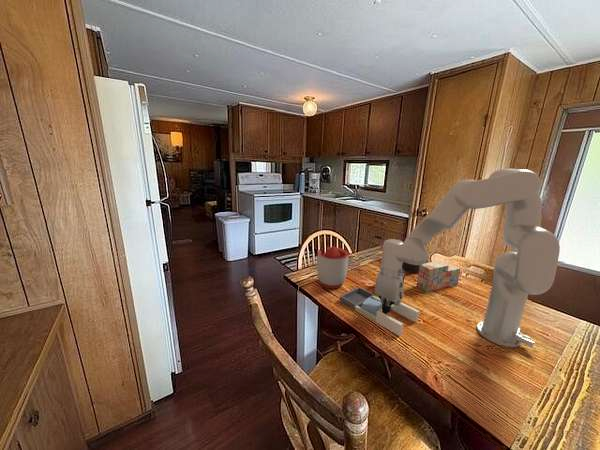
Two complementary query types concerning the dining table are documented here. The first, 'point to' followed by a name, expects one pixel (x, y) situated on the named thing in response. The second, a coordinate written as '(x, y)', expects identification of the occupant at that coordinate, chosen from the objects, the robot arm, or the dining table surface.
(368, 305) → the block
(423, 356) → the dining table surface
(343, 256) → the citrus juicer
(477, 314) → the dining table surface
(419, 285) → the stack of blocks
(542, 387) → the dining table surface
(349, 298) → the two-pronged grey tray
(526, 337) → the robot arm
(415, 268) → the black upright piece
